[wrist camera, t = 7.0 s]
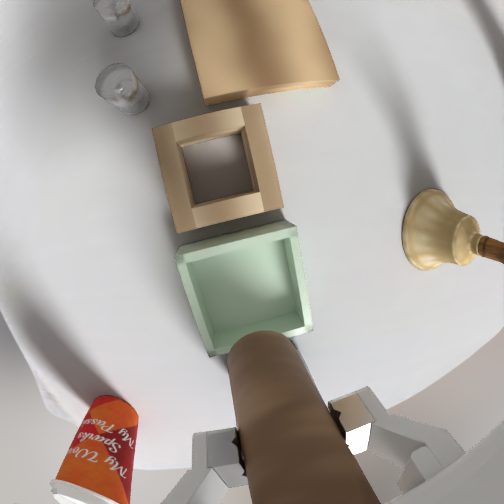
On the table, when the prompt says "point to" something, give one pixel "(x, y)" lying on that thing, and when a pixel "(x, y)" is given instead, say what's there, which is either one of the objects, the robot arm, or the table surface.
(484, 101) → the table surface
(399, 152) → the table surface
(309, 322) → the tray
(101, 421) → the paper cup
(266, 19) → the curved tan panel
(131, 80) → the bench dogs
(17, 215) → the table surface
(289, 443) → the dowel
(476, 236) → the hand bell
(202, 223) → the socket block
